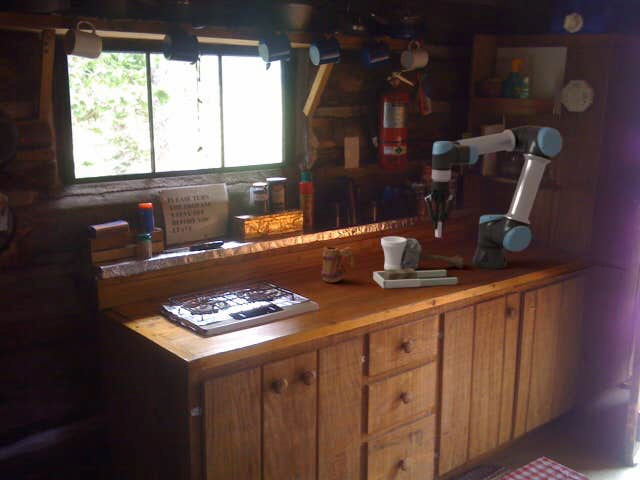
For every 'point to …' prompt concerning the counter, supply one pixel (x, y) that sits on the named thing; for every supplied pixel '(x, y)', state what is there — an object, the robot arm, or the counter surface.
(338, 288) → the counter surface
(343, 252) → the mug
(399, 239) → the cup
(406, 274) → the chip
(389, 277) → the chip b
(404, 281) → the tray frame
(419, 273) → the slot rails
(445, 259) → the hammer
